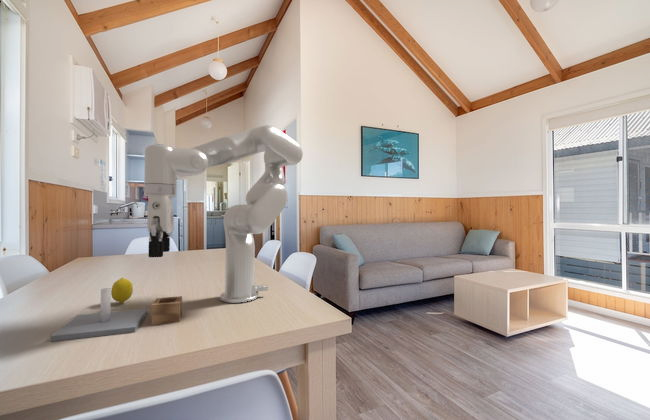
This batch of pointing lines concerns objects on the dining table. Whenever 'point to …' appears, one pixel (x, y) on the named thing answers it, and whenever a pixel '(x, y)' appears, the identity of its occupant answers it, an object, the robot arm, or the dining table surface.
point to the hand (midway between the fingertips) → (159, 254)
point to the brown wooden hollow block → (166, 310)
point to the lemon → (122, 290)
